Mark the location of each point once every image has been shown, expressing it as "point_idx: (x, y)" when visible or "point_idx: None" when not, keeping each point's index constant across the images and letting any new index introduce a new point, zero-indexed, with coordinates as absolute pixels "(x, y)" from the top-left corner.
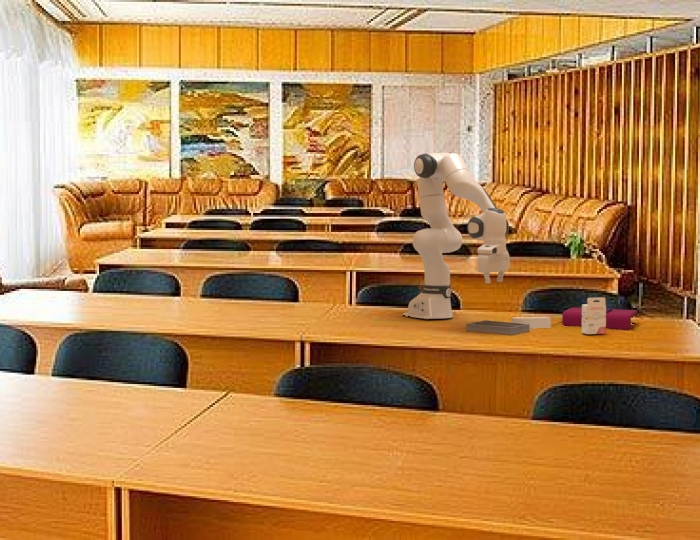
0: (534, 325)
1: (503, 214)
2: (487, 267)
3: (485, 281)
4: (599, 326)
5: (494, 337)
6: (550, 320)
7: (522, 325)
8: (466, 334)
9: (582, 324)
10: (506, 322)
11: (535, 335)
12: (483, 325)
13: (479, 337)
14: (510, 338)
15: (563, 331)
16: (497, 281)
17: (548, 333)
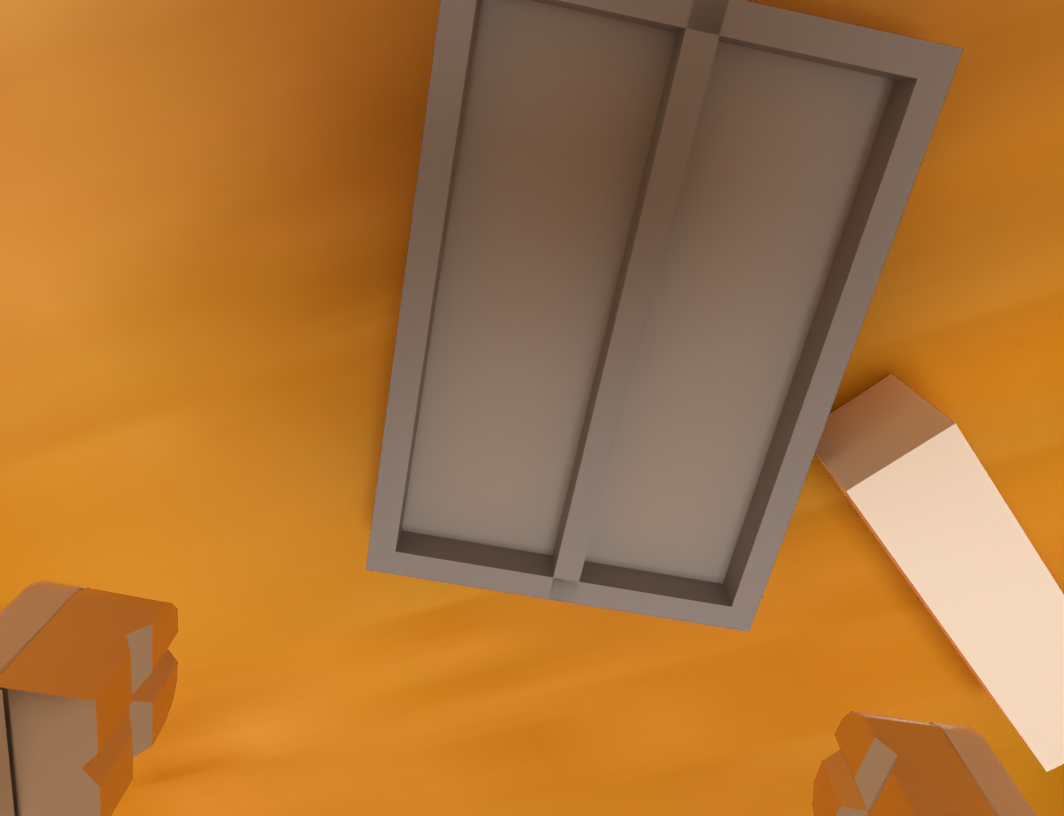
0: (925, 606)
1: None
2: None
3: (3, 621)
4: None
5: (144, 439)
6: (1028, 747)
7: (609, 604)
8: (161, 89)
9: None
10: (808, 388)
11: (492, 689)
12: (411, 229)
13: (40, 311)
14: (180, 576)
15: None
16: (852, 720)
17: (672, 737)
